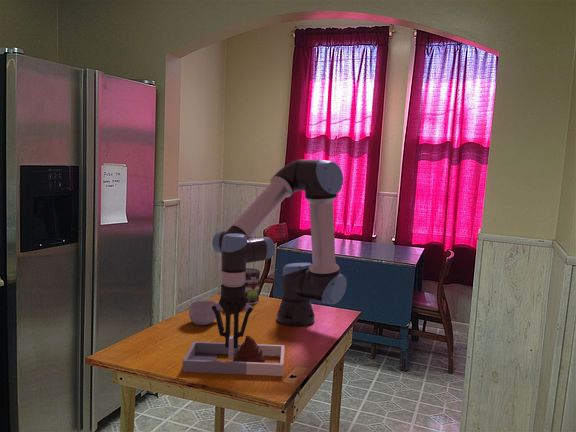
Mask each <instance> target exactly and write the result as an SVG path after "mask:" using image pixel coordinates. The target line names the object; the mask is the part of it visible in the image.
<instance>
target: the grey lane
mask: <svg viewBox="0 0 576 432" xmlns="http://www.w3.org/2000/svg"><path fill="white" fill-rule="evenodd" d="M242 343H243V342H242ZM242 343H239V342H238V346H237V348H234V356H236V355H237V352H238V350H239V347H240V345H241V344H242ZM228 354H229V348H226V347H225V342H217V341H216V342H215V341H214V342H213V341H193V342H192V344H191V345H190V347H189V349H188V352H187V353H186V355H185V357H184V358H183V360H182V373H196V374H197V373H200V374H201V373H202V374H203V373H204V374H220V375H221V374H223V375H225V374H227V375H246V364H247V362H235V361H233V360H232V361H230V360H228V361H227V360H217V359H218V357H219V355H228ZM246 376H247V375H246Z"/></svg>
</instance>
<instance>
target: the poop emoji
mask: <svg viewBox="0 0 576 432" xmlns="http://www.w3.org/2000/svg"><path fill="white" fill-rule="evenodd" d="M257 344H258V343H256V341H255V339H253V338H252V337H251V336H250V335H245V338H244V341H243V342H242V344H241V345H240V347H239V350H238V352H237V355H234V358H233V359H232V361H235V362H259V363H266V359H265V356H263V355H262V350H261V349H260V348H259V347H258V345H257Z"/></svg>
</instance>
